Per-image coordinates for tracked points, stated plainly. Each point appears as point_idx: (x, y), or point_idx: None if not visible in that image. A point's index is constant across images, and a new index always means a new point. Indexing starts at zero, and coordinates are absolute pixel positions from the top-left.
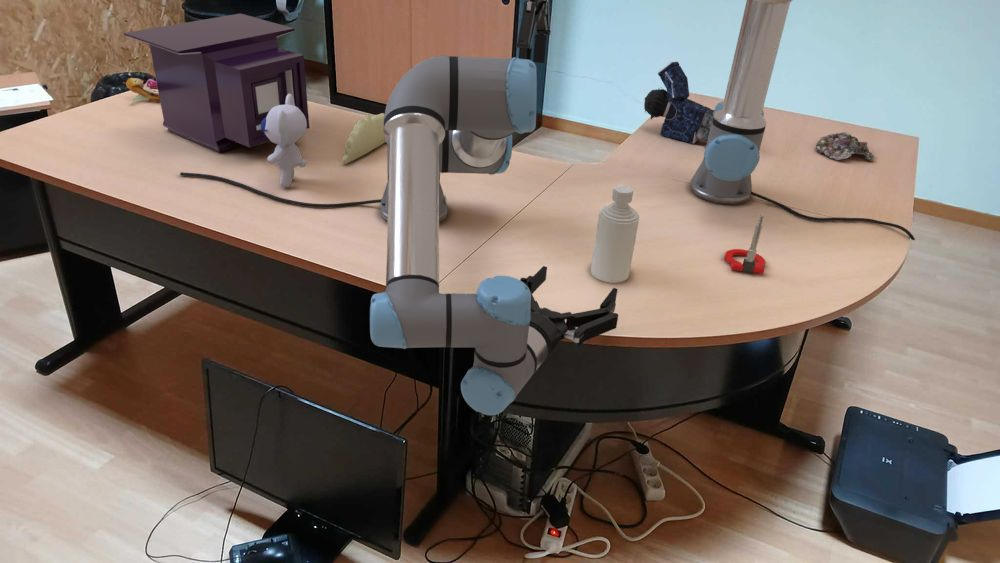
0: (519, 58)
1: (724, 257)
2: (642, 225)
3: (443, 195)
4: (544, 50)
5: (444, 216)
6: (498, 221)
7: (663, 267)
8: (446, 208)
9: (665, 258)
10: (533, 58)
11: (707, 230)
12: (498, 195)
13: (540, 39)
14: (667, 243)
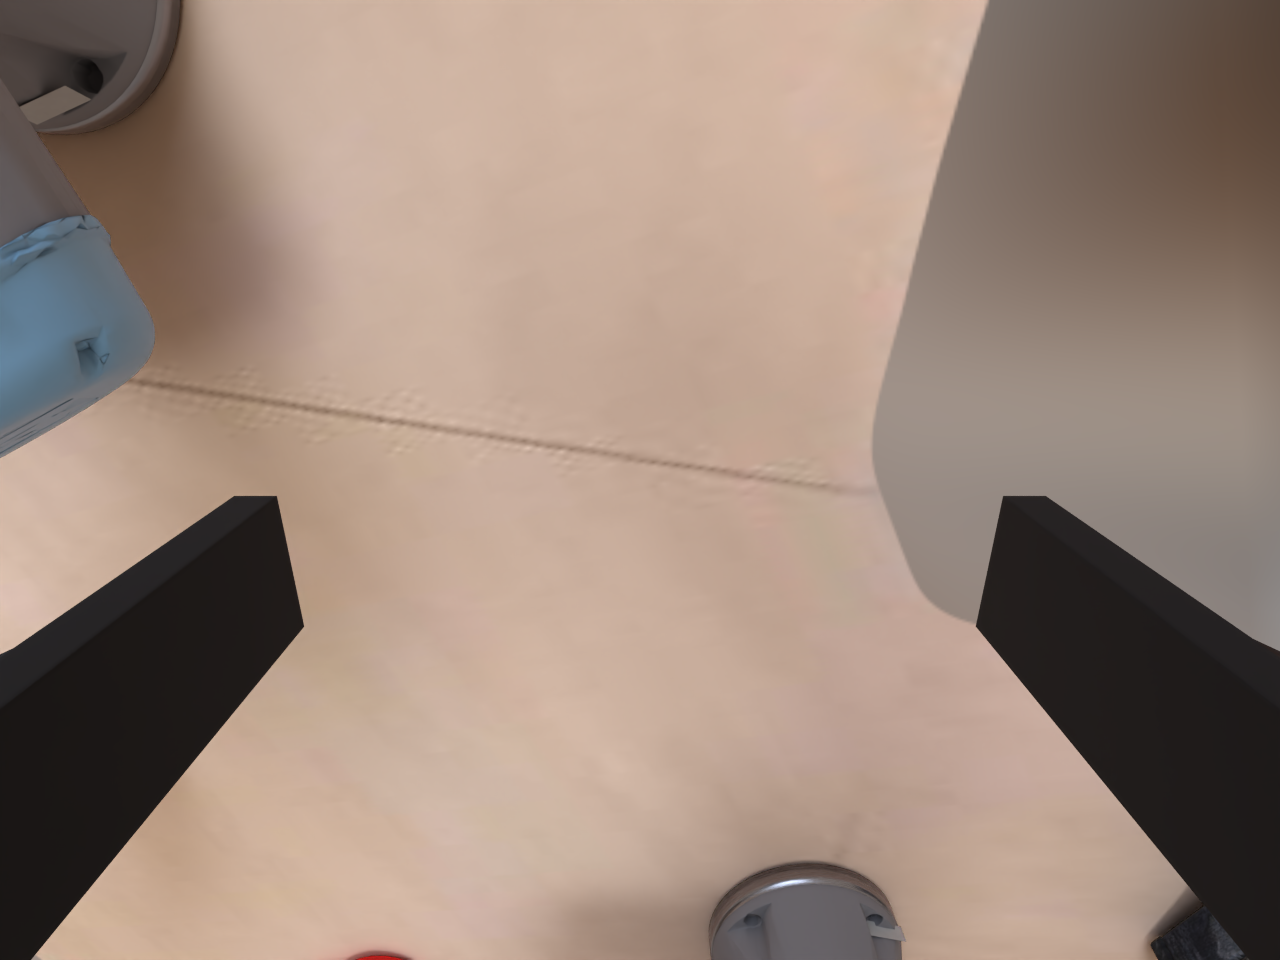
0: (54, 636)
1: (370, 956)
2: (455, 776)
3: (14, 93)
4: (1074, 739)
5: (50, 132)
6: (197, 357)
7: (239, 845)
8: (64, 125)
9: (291, 844)
10: (1029, 517)
11: (519, 914)
12: (416, 283)
13: (1236, 810)
14: (380, 841)
